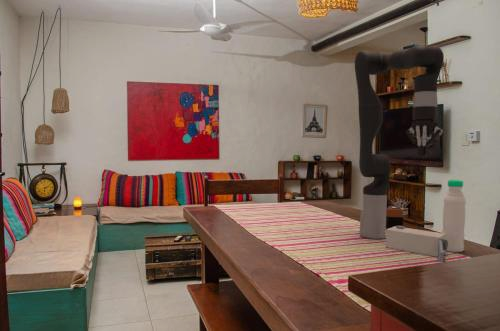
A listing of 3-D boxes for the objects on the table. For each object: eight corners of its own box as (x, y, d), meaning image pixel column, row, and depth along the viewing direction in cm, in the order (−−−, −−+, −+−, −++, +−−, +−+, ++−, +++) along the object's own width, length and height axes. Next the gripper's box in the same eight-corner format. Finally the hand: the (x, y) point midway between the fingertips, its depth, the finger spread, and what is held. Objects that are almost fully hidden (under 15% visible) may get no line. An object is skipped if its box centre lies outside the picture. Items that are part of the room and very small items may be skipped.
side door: (444, 272, 117) (445, 252, 117) (439, 272, 117) (440, 251, 117) (442, 257, 133) (443, 239, 133) (438, 256, 134) (438, 238, 133)
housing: (385, 247, 146) (386, 227, 145) (394, 243, 152) (395, 224, 151) (442, 257, 133) (443, 235, 133) (449, 253, 139) (450, 232, 139)
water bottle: (437, 248, 145) (439, 179, 144) (451, 246, 148) (454, 179, 146) (453, 253, 139) (456, 181, 137) (468, 251, 141) (471, 180, 140)
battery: (403, 230, 176) (404, 207, 175) (387, 229, 176) (388, 207, 176) (400, 228, 180) (400, 205, 180) (384, 227, 181) (385, 205, 180)
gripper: (400, 106, 139) (399, 156, 140) (438, 103, 129) (436, 158, 130) (412, 107, 144) (410, 156, 145) (449, 105, 133) (447, 157, 134)
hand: (422, 157), depth 137 cm, fingers closed
